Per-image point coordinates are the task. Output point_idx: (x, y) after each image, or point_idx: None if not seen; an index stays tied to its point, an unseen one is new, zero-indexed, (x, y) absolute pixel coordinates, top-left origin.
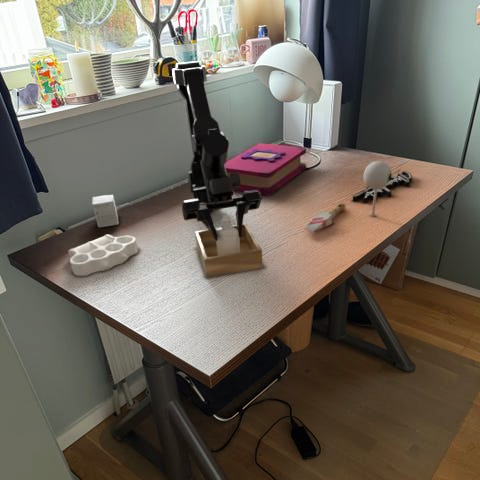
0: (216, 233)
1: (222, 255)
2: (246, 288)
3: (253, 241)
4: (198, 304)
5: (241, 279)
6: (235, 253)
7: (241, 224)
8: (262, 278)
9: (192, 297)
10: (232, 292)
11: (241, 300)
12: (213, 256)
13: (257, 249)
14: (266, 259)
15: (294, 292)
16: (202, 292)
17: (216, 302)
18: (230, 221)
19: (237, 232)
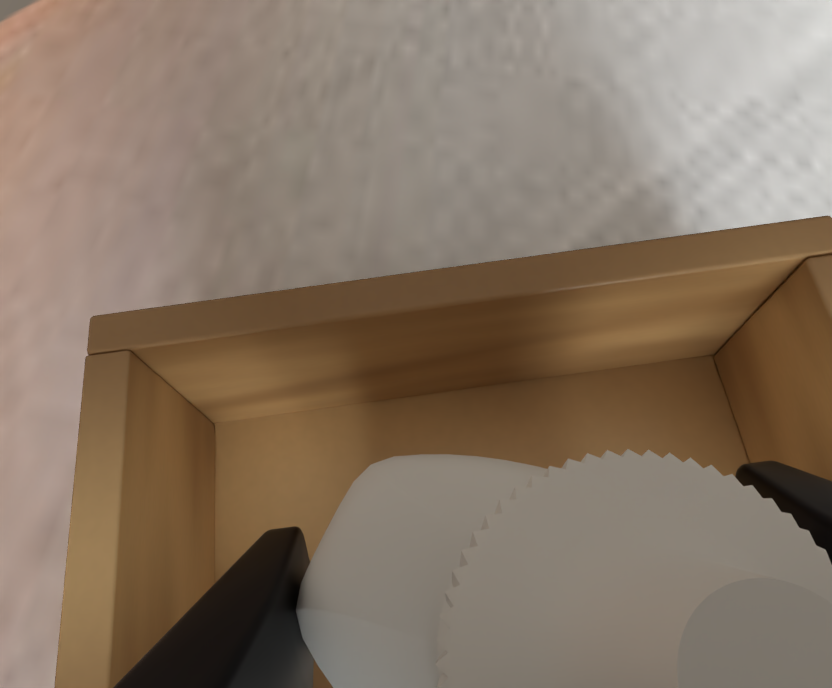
0: (816, 505)
1: (604, 269)
2: (387, 136)
3: (116, 598)
4: (731, 18)
5: (411, 252)
6: (433, 285)
7: (147, 680)
8: (238, 239)
9: (794, 88)
10: (494, 106)
11: (438, 25)
12: (723, 265)
13: (138, 335)
14: None
15: (82, 58)
16: (727, 133)
17: (606, 24)
18: (464, 551)
19: (328, 527)
